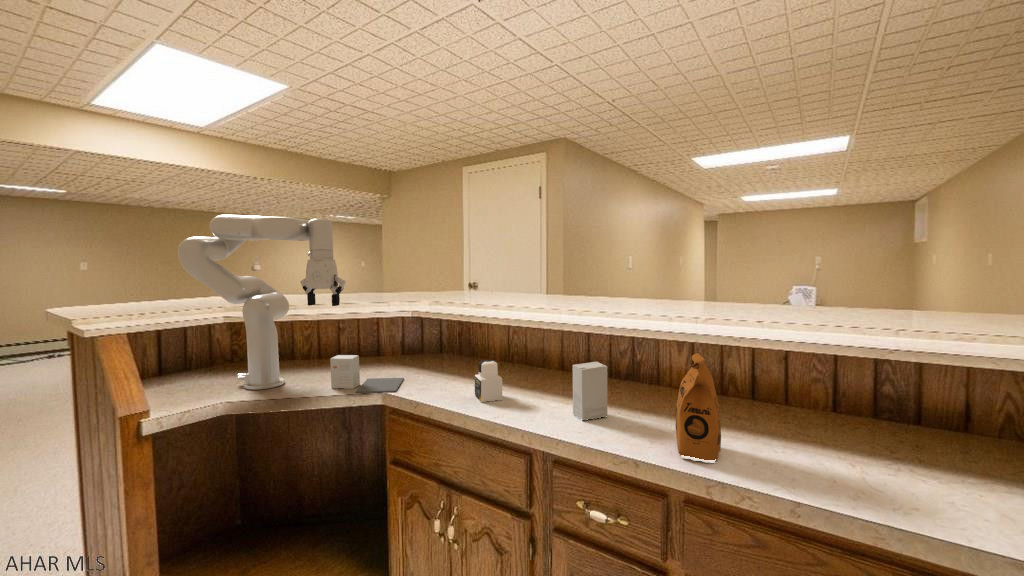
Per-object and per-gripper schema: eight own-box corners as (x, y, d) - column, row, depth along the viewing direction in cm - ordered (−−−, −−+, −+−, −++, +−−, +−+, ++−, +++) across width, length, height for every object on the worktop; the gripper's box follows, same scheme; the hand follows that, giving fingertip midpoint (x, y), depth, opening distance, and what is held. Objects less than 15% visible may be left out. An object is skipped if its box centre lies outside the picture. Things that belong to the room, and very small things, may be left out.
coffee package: (671, 459, 103) (673, 361, 102) (676, 439, 115) (678, 350, 113) (720, 467, 99) (723, 366, 98) (720, 445, 111) (723, 354, 109)
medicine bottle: (474, 396, 150) (474, 359, 149) (495, 393, 152) (495, 357, 151) (480, 402, 143) (480, 364, 142) (502, 400, 146) (502, 362, 145)
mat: (355, 392, 154) (355, 391, 154) (367, 379, 170) (367, 378, 170) (395, 392, 155) (395, 390, 155) (403, 379, 170) (403, 377, 170)
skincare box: (597, 411, 135) (597, 360, 134) (608, 418, 129) (609, 365, 128) (571, 415, 132) (571, 363, 131) (581, 422, 126) (582, 368, 125)
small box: (360, 384, 164) (359, 355, 163) (353, 389, 158) (352, 358, 157) (338, 384, 164) (337, 354, 164) (330, 388, 159) (329, 358, 158)
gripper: (292, 255, 158) (294, 306, 159) (336, 255, 153) (338, 307, 154) (307, 255, 165) (309, 303, 166) (350, 255, 160) (352, 304, 162)
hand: (323, 305), depth 160 cm, fingers open, 9 cm apart
